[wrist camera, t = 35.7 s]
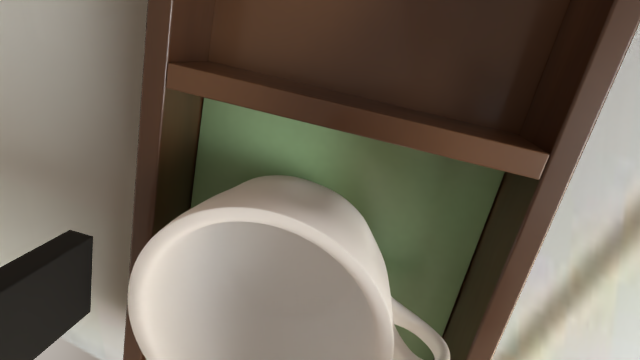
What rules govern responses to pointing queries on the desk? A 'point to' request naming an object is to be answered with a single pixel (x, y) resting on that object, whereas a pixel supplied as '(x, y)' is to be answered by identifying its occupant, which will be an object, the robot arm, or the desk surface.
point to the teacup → (270, 281)
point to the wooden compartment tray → (386, 130)
